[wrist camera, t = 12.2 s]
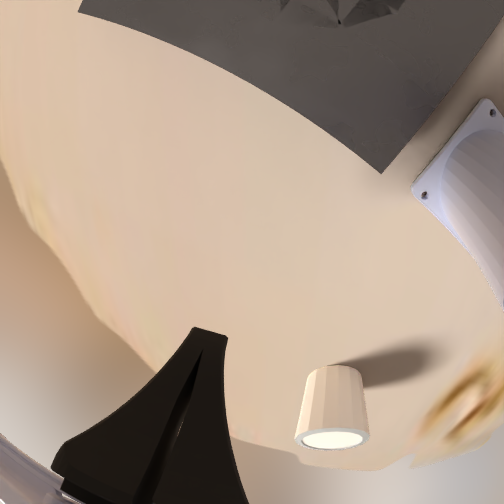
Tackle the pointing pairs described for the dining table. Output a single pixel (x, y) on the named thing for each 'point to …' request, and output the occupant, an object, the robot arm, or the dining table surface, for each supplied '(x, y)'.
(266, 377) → the dining table surface
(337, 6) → the dark grey slab
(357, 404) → the cream tapered cylinder
